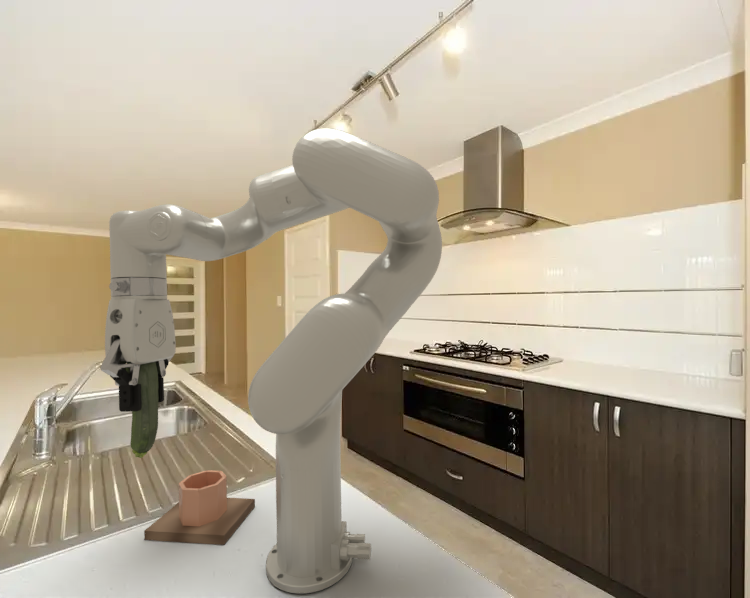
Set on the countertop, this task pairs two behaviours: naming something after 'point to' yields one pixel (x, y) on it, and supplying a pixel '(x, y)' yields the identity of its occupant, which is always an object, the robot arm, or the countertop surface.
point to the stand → (205, 534)
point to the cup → (202, 498)
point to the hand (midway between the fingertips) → (142, 405)
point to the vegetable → (145, 411)
